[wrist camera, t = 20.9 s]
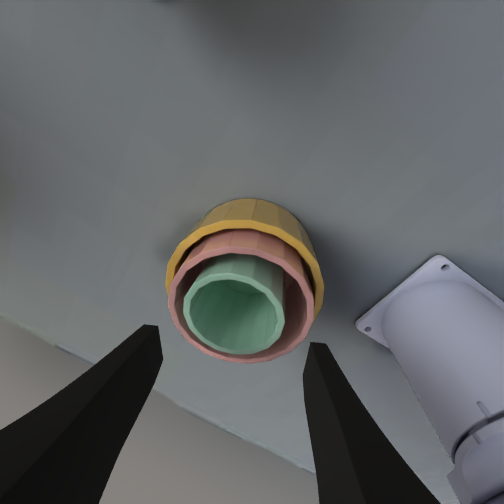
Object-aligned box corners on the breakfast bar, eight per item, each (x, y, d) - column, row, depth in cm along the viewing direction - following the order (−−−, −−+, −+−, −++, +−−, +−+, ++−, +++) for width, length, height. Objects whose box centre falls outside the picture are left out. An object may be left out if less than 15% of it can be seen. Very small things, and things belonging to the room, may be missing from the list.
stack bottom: (338, 245, 17) (359, 281, 13) (264, 323, 20) (263, 370, 16) (229, 170, 15) (213, 183, 11) (170, 270, 19) (142, 307, 15)
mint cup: (300, 258, 16) (306, 312, 11) (258, 305, 18) (247, 368, 13) (237, 215, 15) (213, 253, 10) (201, 270, 17) (167, 322, 13)
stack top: (323, 247, 17) (347, 300, 11) (262, 314, 20) (258, 381, 14) (233, 186, 15) (212, 214, 10) (183, 268, 18) (146, 323, 13)
